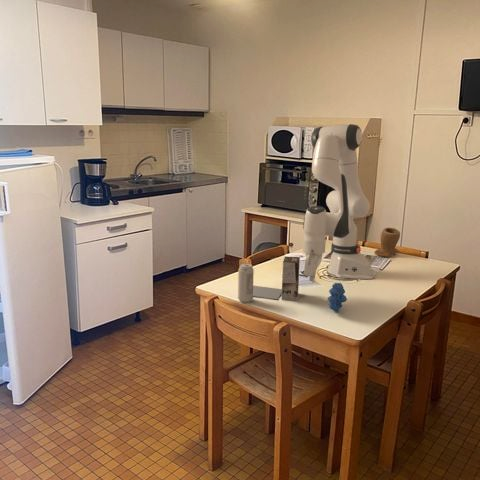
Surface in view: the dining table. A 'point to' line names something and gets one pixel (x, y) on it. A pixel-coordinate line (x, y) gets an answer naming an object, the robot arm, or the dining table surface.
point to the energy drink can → (245, 283)
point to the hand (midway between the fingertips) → (312, 280)
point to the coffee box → (290, 278)
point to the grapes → (336, 297)
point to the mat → (266, 292)
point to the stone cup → (388, 242)
